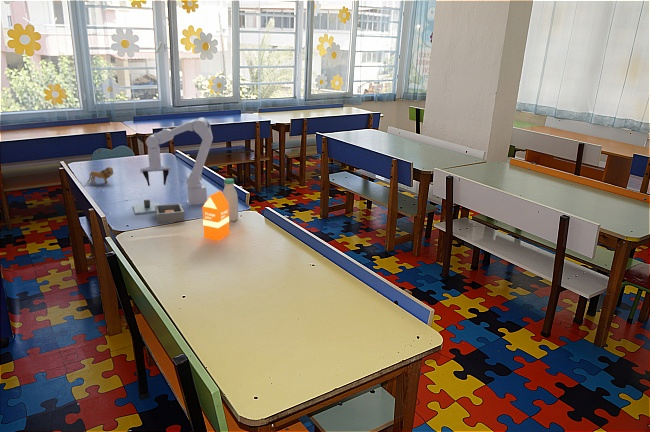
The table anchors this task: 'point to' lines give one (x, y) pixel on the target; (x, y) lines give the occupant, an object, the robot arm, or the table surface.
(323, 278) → the table surface
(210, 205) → the orange juice
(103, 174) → the lion figurine
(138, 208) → the lid
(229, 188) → the milk bottle
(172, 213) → the storage box
